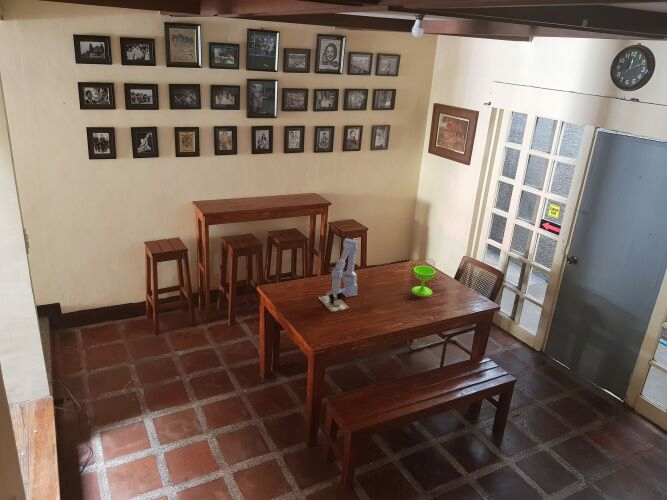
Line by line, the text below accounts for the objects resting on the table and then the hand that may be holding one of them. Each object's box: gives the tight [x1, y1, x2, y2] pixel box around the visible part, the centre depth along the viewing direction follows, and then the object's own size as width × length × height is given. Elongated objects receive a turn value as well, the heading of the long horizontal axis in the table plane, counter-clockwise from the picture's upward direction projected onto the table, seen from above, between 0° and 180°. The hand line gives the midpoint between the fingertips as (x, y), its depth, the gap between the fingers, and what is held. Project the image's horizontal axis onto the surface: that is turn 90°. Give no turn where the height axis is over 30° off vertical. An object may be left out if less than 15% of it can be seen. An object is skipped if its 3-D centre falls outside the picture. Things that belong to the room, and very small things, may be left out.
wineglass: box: [410, 265, 436, 298], centre depth 399 cm, size 16×16×18 cm
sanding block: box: [329, 296, 342, 307], centre depth 375 cm, size 8×4×4 cm, turn 31°
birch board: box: [317, 294, 350, 313], centre depth 378 cm, size 14×22×1 cm, turn 26°
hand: (335, 302), depth 375 cm, fingers closed on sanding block, 4 cm apart
